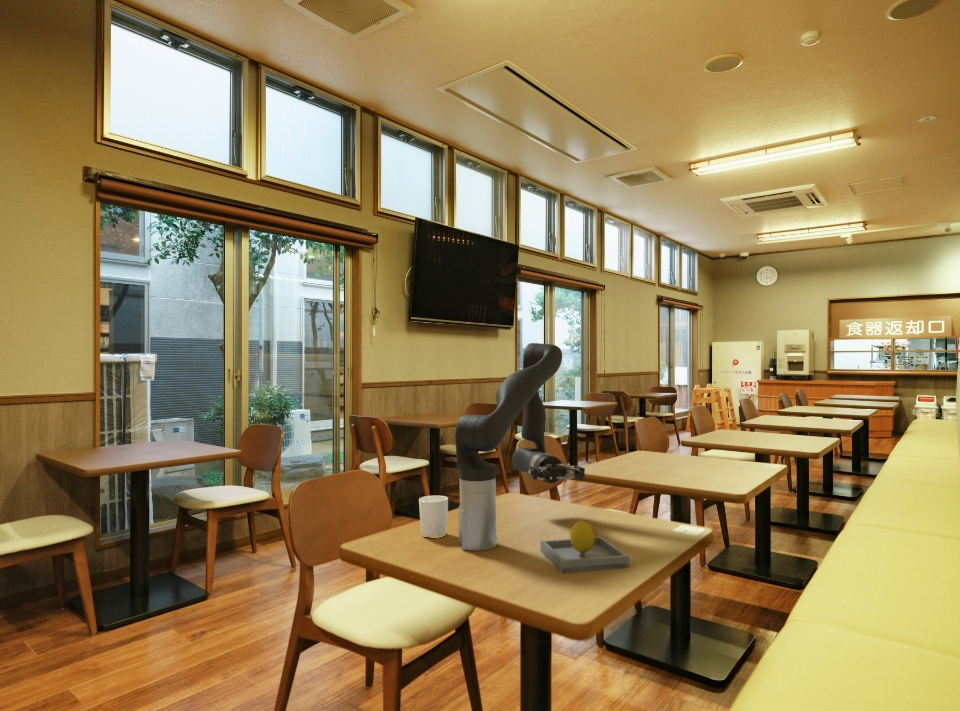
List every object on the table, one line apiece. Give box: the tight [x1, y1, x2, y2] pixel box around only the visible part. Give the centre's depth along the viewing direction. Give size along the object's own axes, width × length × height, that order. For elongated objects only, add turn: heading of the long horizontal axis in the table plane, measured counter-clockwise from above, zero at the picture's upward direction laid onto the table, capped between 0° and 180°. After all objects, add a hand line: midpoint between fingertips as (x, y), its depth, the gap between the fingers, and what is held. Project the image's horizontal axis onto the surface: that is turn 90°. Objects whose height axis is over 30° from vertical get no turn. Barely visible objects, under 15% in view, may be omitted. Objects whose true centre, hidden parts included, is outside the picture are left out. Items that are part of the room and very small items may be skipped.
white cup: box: [418, 494, 449, 537], centre depth 161 cm, size 8×8×10 cm
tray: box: [539, 535, 631, 574], centre depth 140 cm, size 16×16×2 cm
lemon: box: [569, 519, 595, 555], centre depth 140 cm, size 6×6×8 cm
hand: (565, 476), depth 151 cm, fingers open, 8 cm apart
